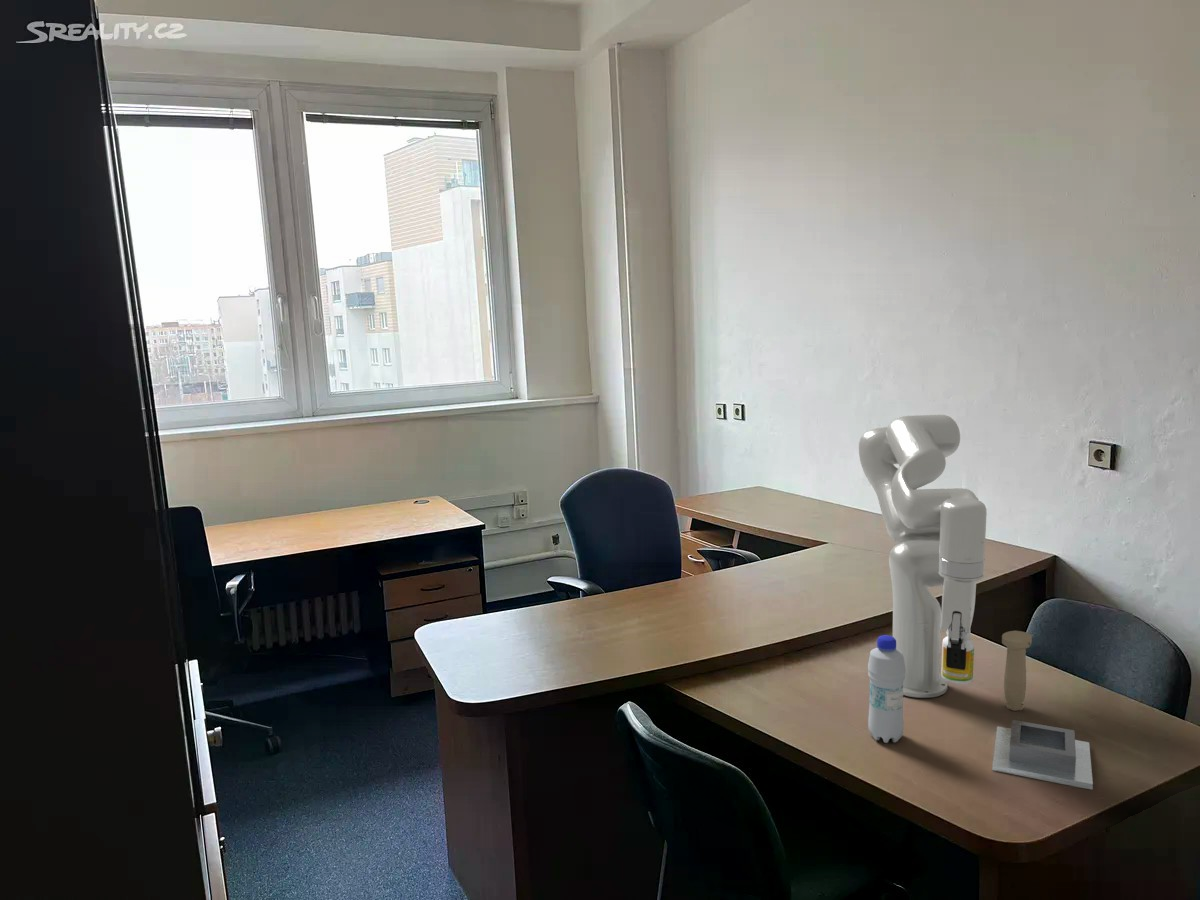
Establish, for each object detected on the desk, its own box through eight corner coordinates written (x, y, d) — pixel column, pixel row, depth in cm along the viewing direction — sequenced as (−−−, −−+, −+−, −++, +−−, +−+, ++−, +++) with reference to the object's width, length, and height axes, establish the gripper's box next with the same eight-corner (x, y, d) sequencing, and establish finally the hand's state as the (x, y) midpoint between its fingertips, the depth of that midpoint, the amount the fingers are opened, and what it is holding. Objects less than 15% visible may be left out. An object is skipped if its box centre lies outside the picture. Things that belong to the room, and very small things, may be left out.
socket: (992, 770, 145) (993, 748, 145) (997, 731, 158) (997, 711, 158) (1092, 789, 138) (1093, 767, 138) (1088, 747, 151) (1090, 726, 151)
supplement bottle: (975, 685, 151) (978, 635, 150) (944, 684, 152) (946, 634, 151) (969, 672, 157) (971, 623, 155) (938, 670, 158) (940, 622, 156)
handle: (1033, 706, 167) (1037, 635, 165) (1018, 717, 163) (1021, 644, 161) (1009, 698, 171) (1012, 628, 169) (994, 709, 167) (996, 637, 165)
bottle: (886, 749, 153) (887, 645, 150) (859, 734, 159) (860, 634, 156) (912, 740, 156) (914, 638, 153) (885, 725, 162) (886, 626, 159)
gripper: (944, 551, 160) (940, 640, 163) (933, 579, 145) (929, 677, 148) (987, 555, 156) (983, 646, 160) (980, 584, 141) (976, 684, 145)
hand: (957, 660), depth 154 cm, fingers closed on supplement bottle, 5 cm apart
